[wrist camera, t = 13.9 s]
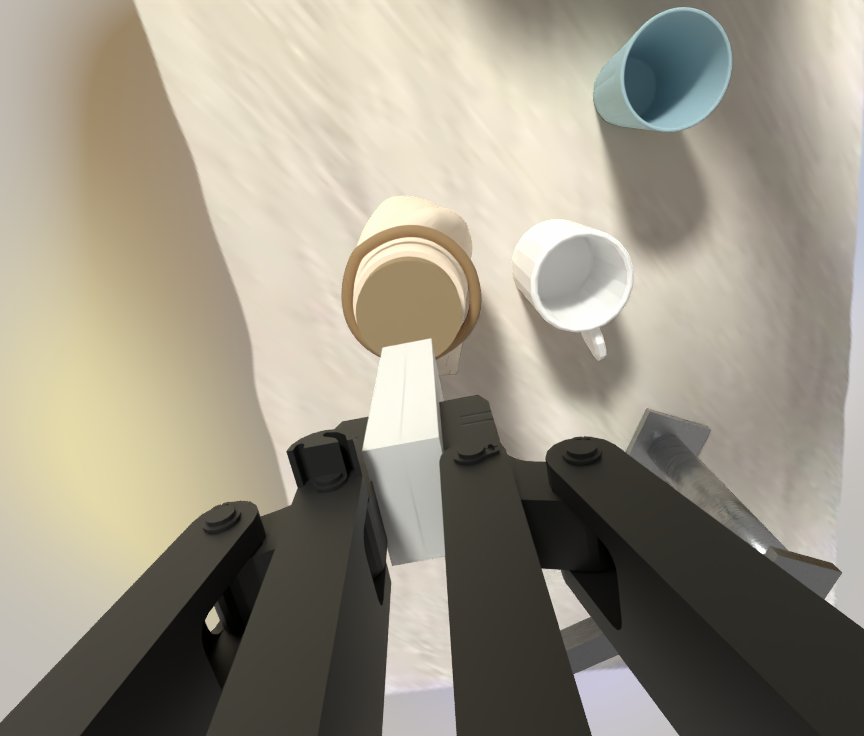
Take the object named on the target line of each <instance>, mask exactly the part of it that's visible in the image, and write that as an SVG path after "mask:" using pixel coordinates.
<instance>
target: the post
mask: <svg viewBox="0 0 864 736" xmlns="http://www.w3.org/2000/svg"><path fill="white" fill-rule="evenodd" d="M709 432H710V429H709V428H708V427H707V426H704V425H700V424H697V423H694V422H690V421H687V420H684V419H680V418H677V417H674V416H670V415H667V414H664V413H660V412H657V411H654V410H650V409H646V411H645V413H644V415H643V417H642V419H641V421H640V424H639V426H638V428H637V430H636V432H635V434H634V436H633V438H632V440H631V442H630V444H629V446H628V448H627V451H626V453H627V454H628V455H630V456H631V457H632V458H634V459H635V460H636V461H638V462H639V463H640V464H642V465H643V466H644V467H646V468H647V469H648V470H650V471H651V472H652V473H654V474H655V475H657V476H658V477H659V478H661V479H662V480H663V481H665V482H668V483H670V484H671V485H672V486H673V487H674V489H675V490H677V491H678V492H679V493H681V494H682V495H684V496H685V497H686V498H688V499H689V500H690V501H692V502H693V503H694V504H696V505H697V506H698V507H700V508H701V509H702V510H704V511H705V512H707V513H708V514H709V515H711V516H712V517H713V518H715V519H716V520H717V521H719V522H720V523H721V524H723V525H724V526H725V527H727V528H728V529H729V530H731V531H732V532H734V533H735V534H736V535H738V536H739V537H740V538H742V539H743V540H744V541H746V542H747V543H748V544H750V545H751V546H752V547H754V548H755V549H756V550H758V551H759V552H761V553H762V554H763V555H765V556H766V557H767V558H769V559H770V560H771V561H773V562H774V563H775V564H777V565H778V566H779V567H781V568H782V569H784V570H785V571H786V572H788V573H789V574H790V575H792V576H793V577H794V578H796V579H797V580H798V581H800V582H801V583H802V584H804V585H805V586H806V587H808V588H809V589H811V590H812V591H813V592H815V593H816V594H817V595H819V596H820V597H821V598H823V599H825V598H826V596H827V595H828V593H829V592H830V590H831V589H832V587H833V586H834V584H835V583H836V581H837V580H838V578H839V577H840V575H841V574H842V572H841V571H840V570H839V569H838V568H837V567H836V566H835V565H834V564H833V563H830V562H826V561H823V560H819V559H815V558H812V557H808V556H805V555H801V554H797V553H794V552H790V551H788V550H787V549H786V548H785V547H784V546H783V545H782V544H781V543H780V542H779V541H778V539H777V538H776V537H775V536H774V535H773V534H772V533H771V532H770V531H769V530H768V529H767V528H766V527H765V526H764V525H763V524H762V523H761V522H760V521H759V520H758V519H757V518H756V517H755V516H754V515H753V514H752V513H751V512H750V511H749V510H748V509H747V508H746V507H745V506H744V505H743V504H742V502H741V501H740V500H739V499H738V498H737V497H736V496H735V495H734V494H733V493H732V492H731V491H730V490H729V489H728V488H727V487H726V486H725V485H724V484H723V483H722V482H721V481H720V480H719V479H718V478H717V477H716V476H715V475H714V474H713V473H712V472H711V471H710V470H709V469H708V468H707V467H706V465H705V464H704V463H703V462H702V461H701V460H700V459H699V458H698V457H697V455H698V453H699V451H700V449H701V447H702V446H703V444H704V442H705V440H706V438H707V436H708V434H709Z"/></svg>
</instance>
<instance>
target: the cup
mask: <svg viewBox="0 0 864 736" xmlns="http://www.w3.org/2000/svg"><path fill="white" fill-rule="evenodd" d="M731 71H732V51H731V46H730V42H729V39H728V37H727V35H726V33H725V31H724V29H723V28H722V26H721V25H720V24H719V22H718V21H717V20H716V19H714V18H713V17H712V16H711V15H709V14H708V13H706V12H704V11H701V10H699V9H695V8H689V7H679V8H673V9H669V10H666V11H664V12H661V13H659V14H657V15H655V16H654V17H652V18H651V19H650V20H648V21H647V22H646V23H645V24H644V25H643V26H642V27H641V28H640V29H639V30H638V31H637V32H636V33H635V34H634V35H633V36H632V37H631V38H630V39H629V40H628V42H627V43H626V44H625V45H624V46H623V47H622V48H621V49H620V50H619V51H618V52H617V53H616V54H615V55H614V56H613V57H612V58H611V59H610V61H609V62H608V63H607V64H606V65H605V66H604V67H603V68H602V70H601V71H600V73H599V75H598V77H597V79H596V81H595V84H594V92H593V100H594V103H595V107H596V110H597V112H598V113H599V114H600V116H601V117H602V118H603V119H604V120H605V121H606V122H608V123H611V124H614V125H617V126H622V127H629V128H637V129H645V130H652V131H660V132H676V131H681V130H685V129H687V128H690V127H692V126H694V125H696V124H698V123H699V122H701V121H702V120H704V119H705V118H706V117H707V116H708V115H709V114H710V113H711V112H712V111H713V110H714V109H715V108H716V106H717V105H718V104H719V102H720V101H721V99H722V97H723V96H724V94H725V91H726V89H727V87H728V84H729V80H730V77H731Z"/></svg>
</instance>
